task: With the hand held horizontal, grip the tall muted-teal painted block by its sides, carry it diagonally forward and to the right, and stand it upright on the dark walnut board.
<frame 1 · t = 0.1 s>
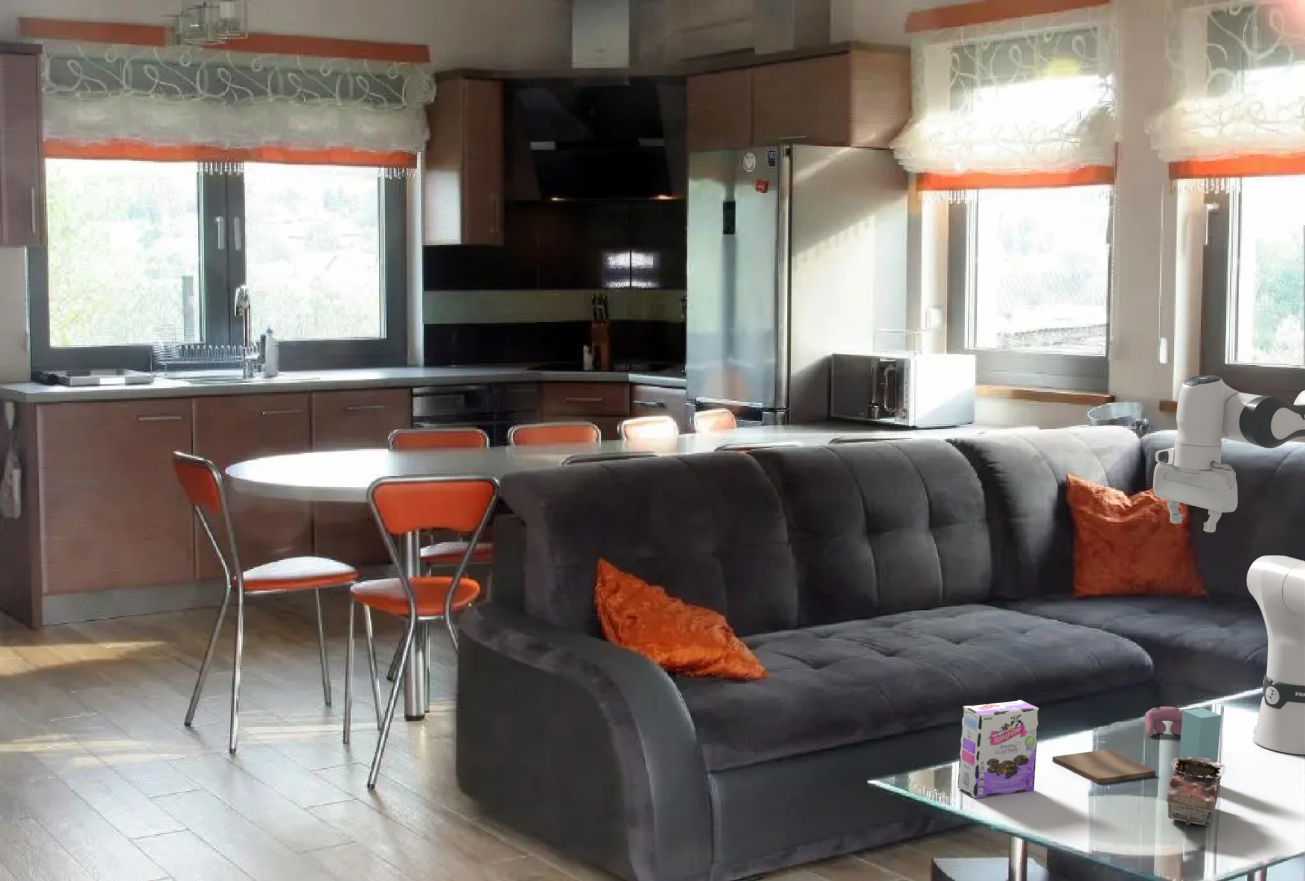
hand: (1192, 527, 332), 48 cm above the table, tool pointing down, fingers open, 8 cm apart
walnut board: (1103, 768, 332), on the table
video game controller: (1167, 736, 355), on the table
candy box: (995, 791, 318), on the table
decorative box: (1199, 823, 304), on the table
teal block: (1196, 782, 325), on the table
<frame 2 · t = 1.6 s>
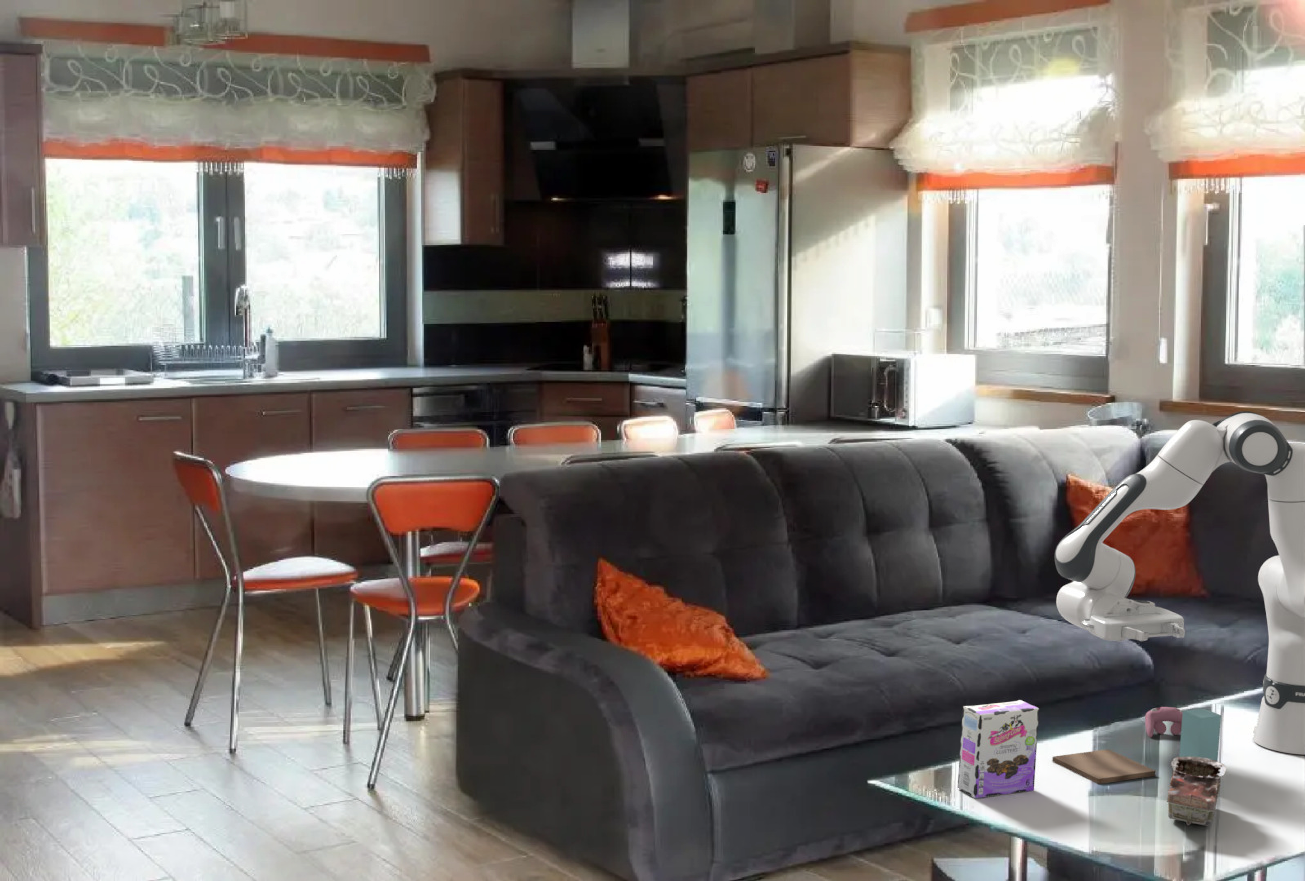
hand: (1163, 635, 333), 26 cm above the table, tool horizontal, fingers open, 8 cm apart
nothing on the table moved.
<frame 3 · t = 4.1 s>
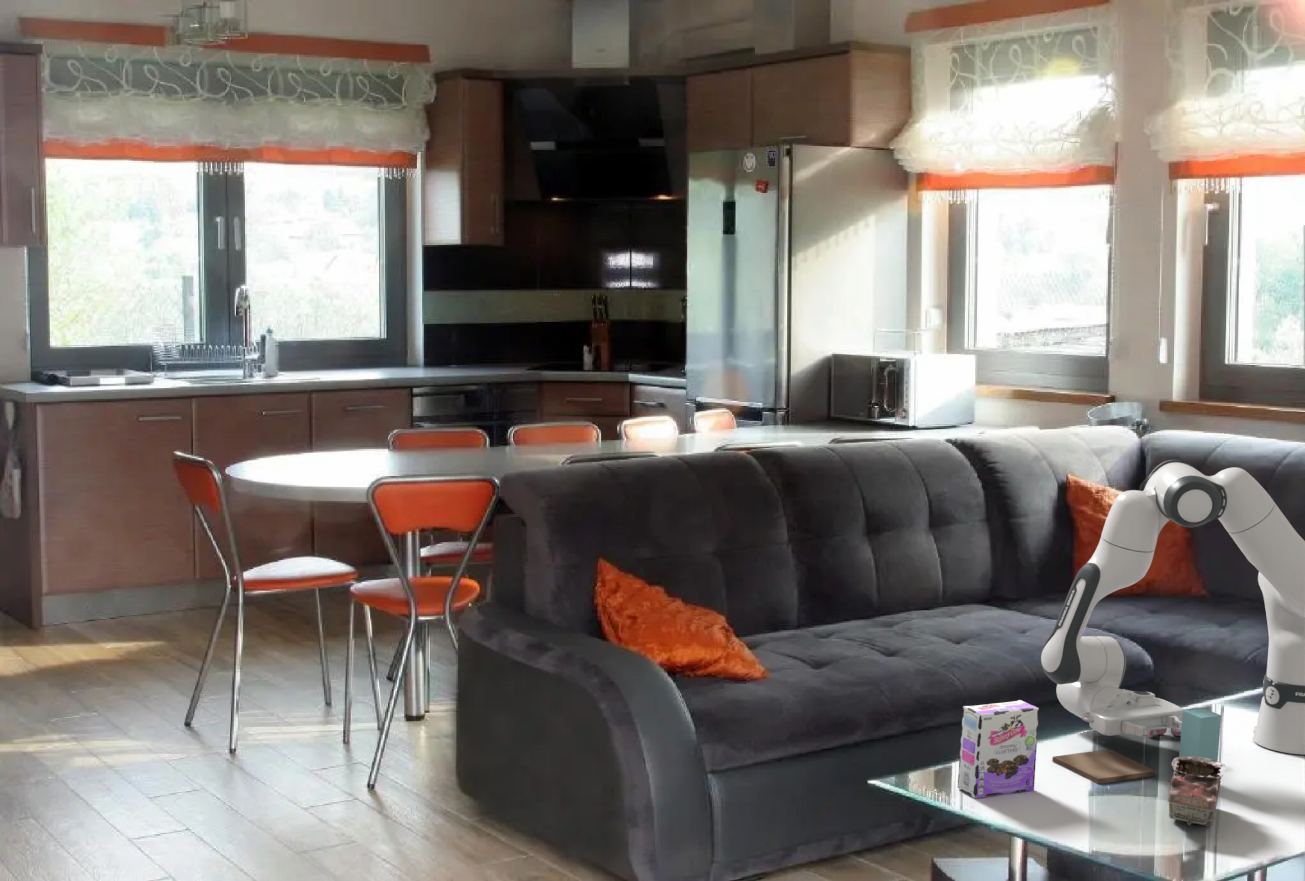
hand: (1163, 730, 334), 7 cm above the table, tool horizontal, fingers open, 8 cm apart
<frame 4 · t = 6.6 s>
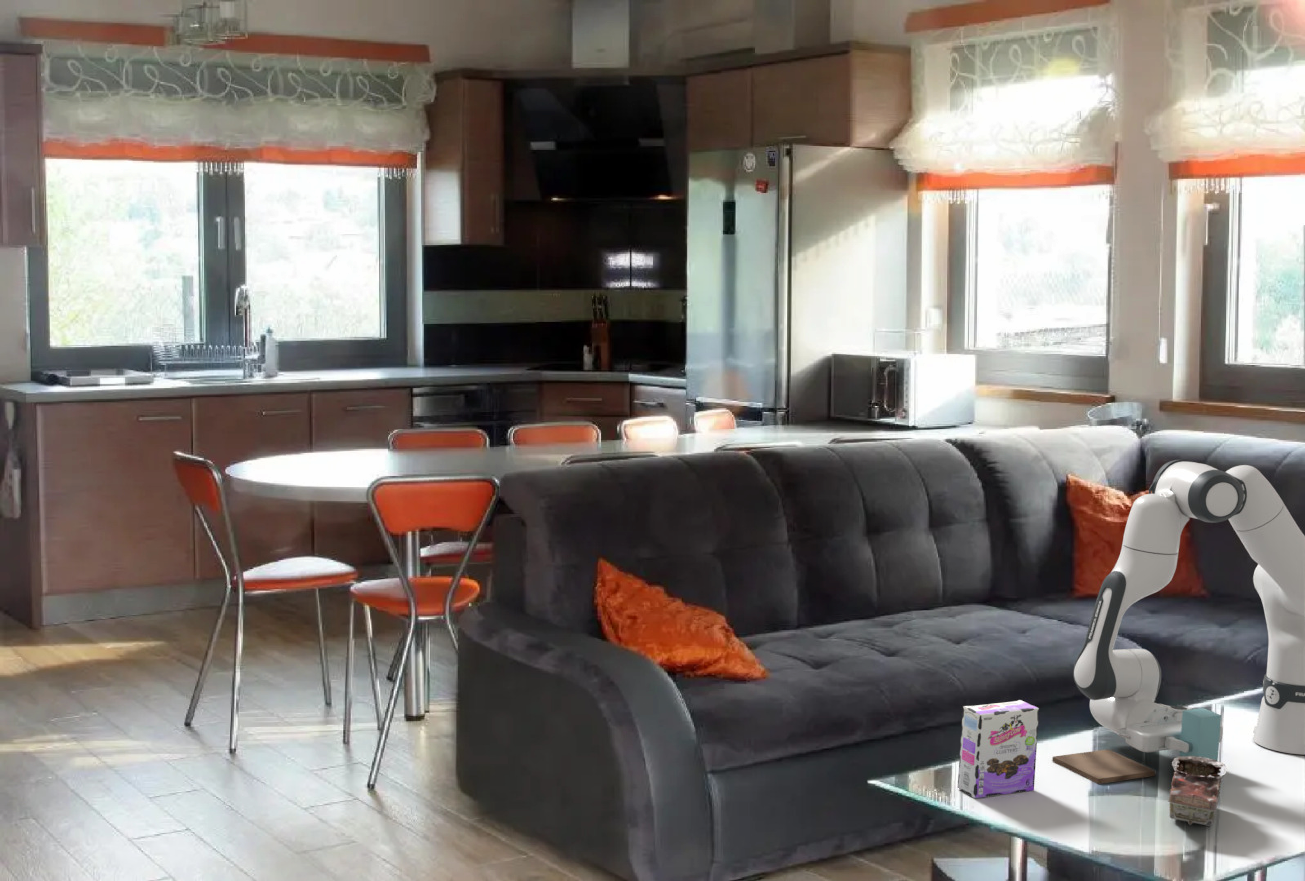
hand: (1202, 746, 324), 8 cm above the table, tool horizontal, fingers closed on teal block, 5 cm apart
teal block: (1196, 782, 325), on the table, touching gripper
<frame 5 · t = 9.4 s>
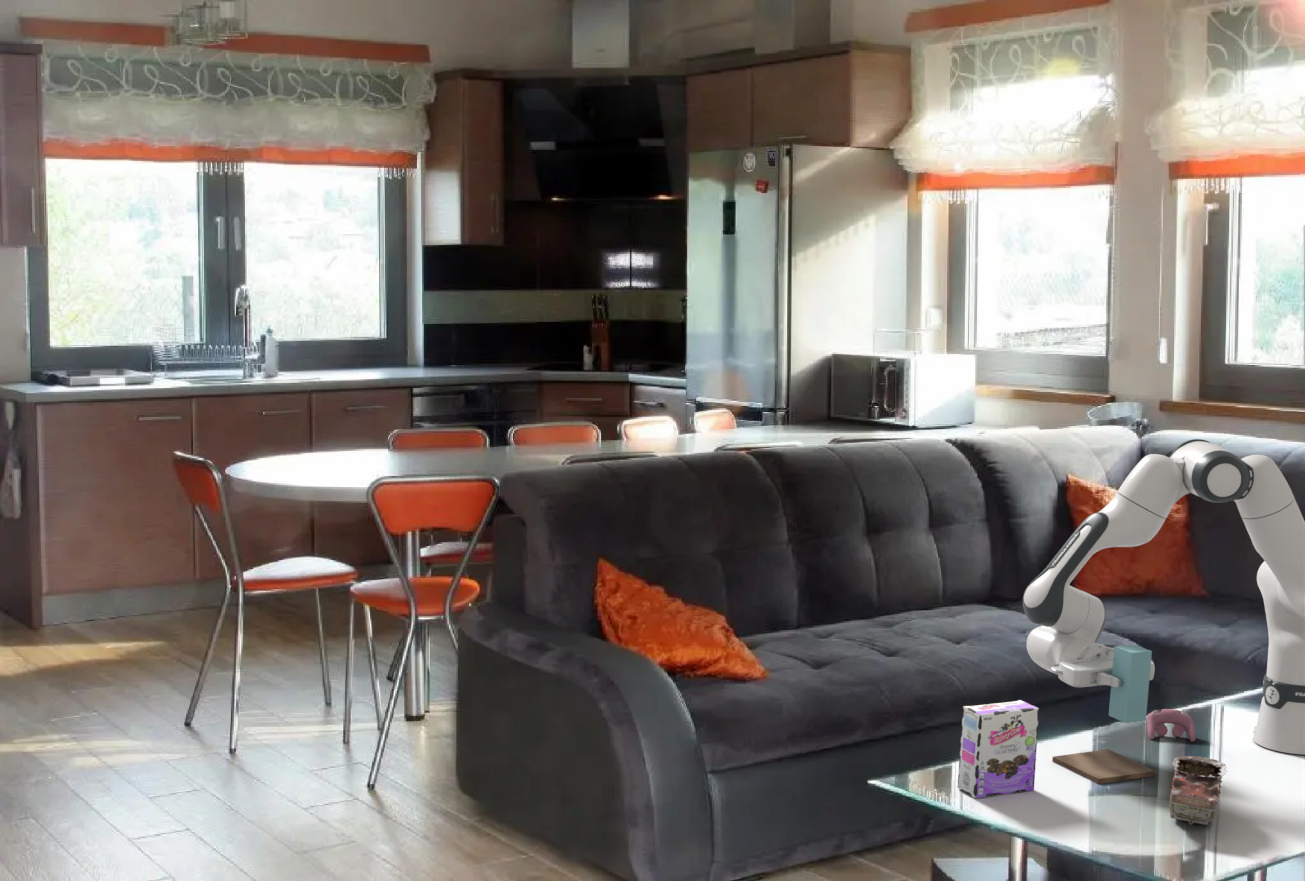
hand: (1133, 682, 327), 19 cm above the table, tool horizontal, fingers closed on teal block, 5 cm apart
teal block: (1127, 718, 329), point 11 cm above the table, touching gripper
when the fingers open (10 cm above the table, at t = 12.2 s): teal block drops 1 cm, resting on walnut board.
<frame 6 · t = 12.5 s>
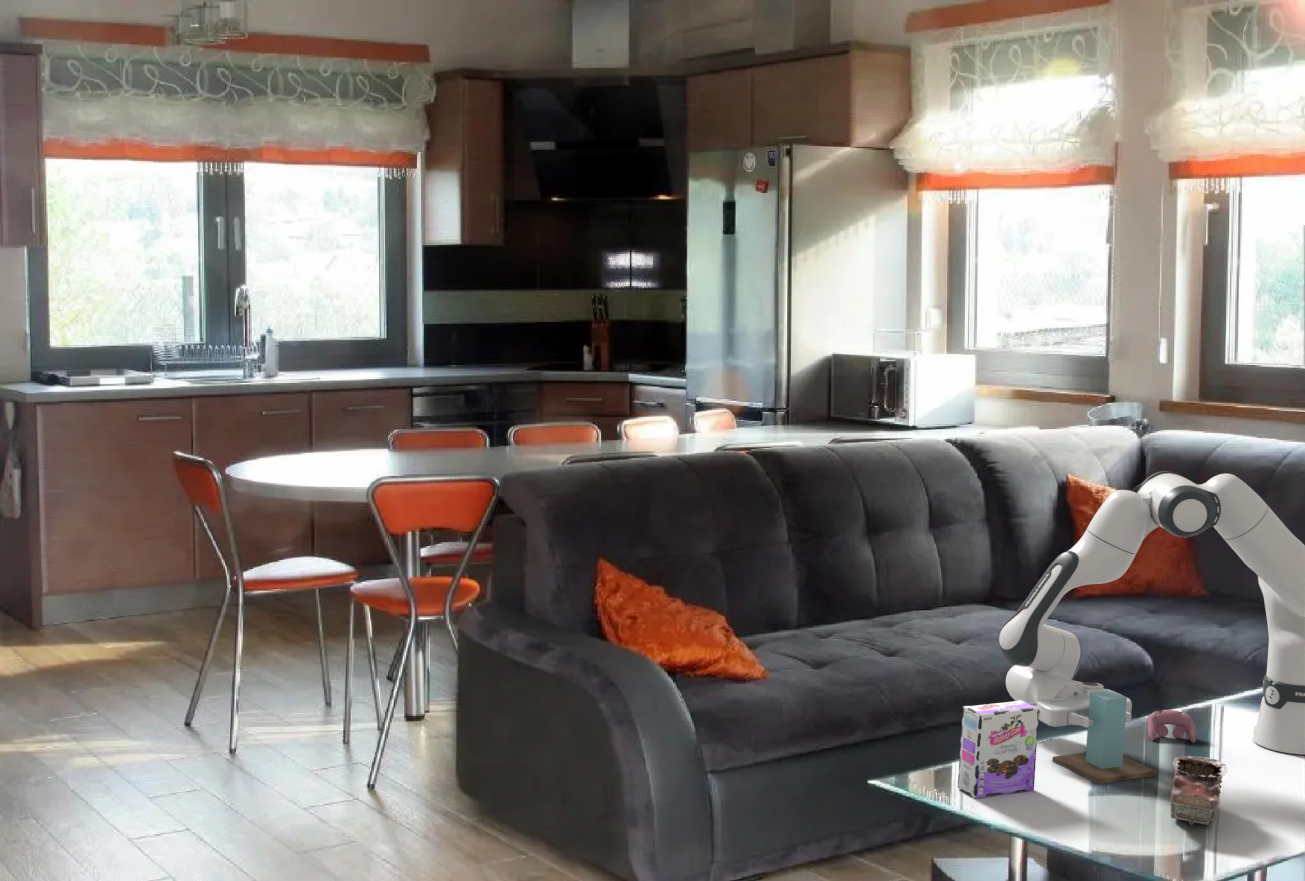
hand: (1109, 721, 330), 10 cm above the table, tool horizontal, fingers open, 8 cm apart
teal block: (1103, 763, 332), point 1 cm above the table, touching walnut board
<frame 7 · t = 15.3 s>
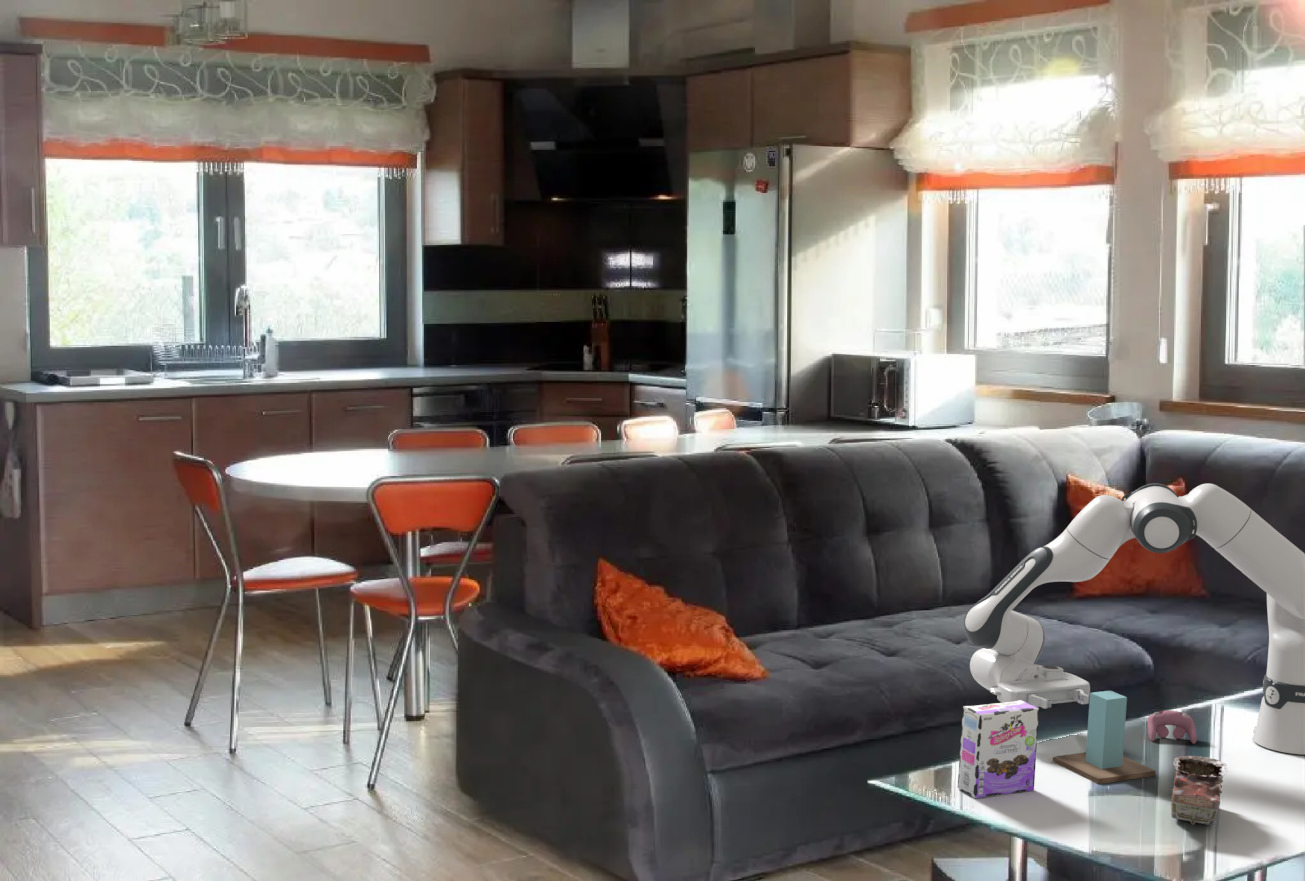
hand: (1067, 702, 341), 10 cm above the table, tool horizontal, fingers open, 8 cm apart
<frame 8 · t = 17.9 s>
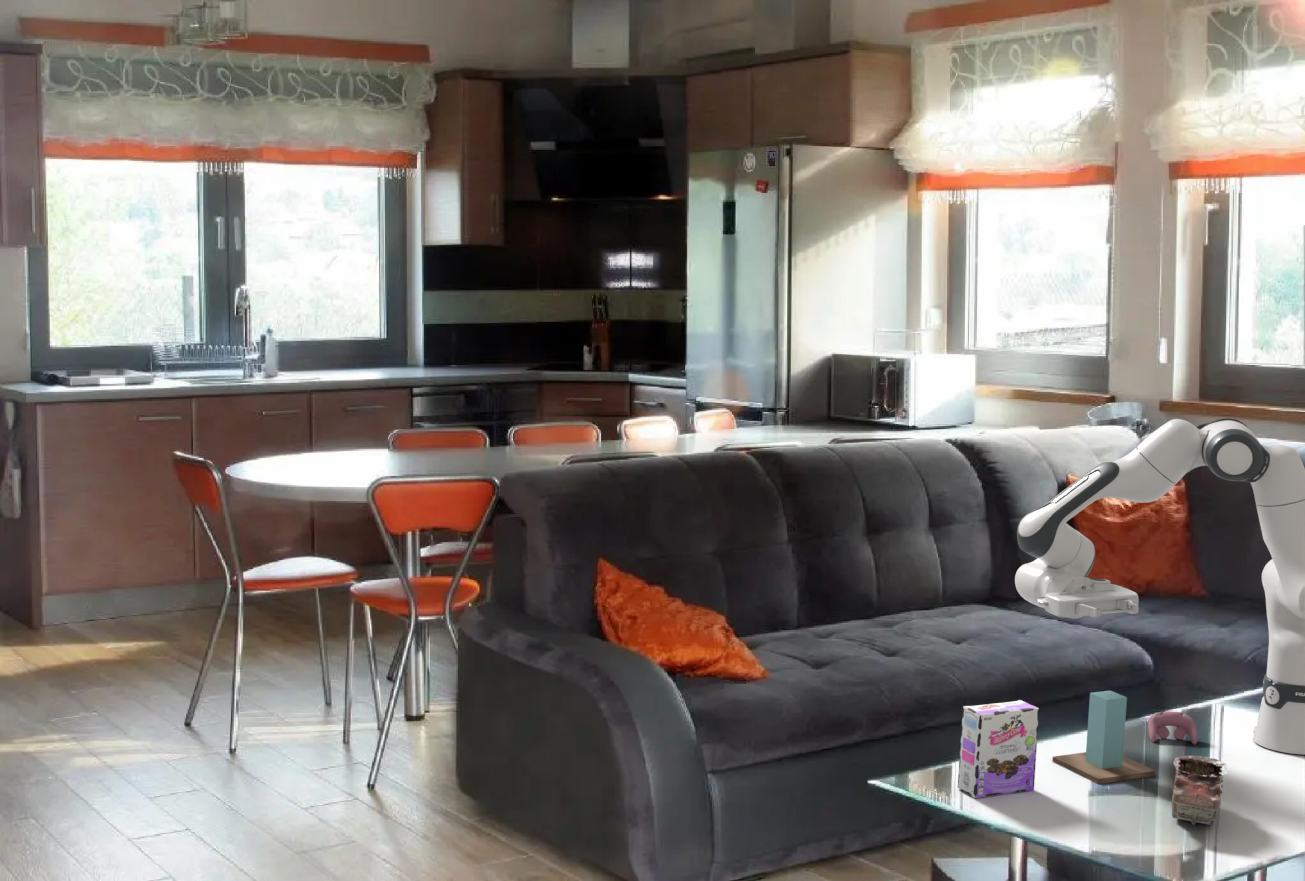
hand: (1117, 611, 336), 30 cm above the table, tool horizontal, fingers open, 8 cm apart
at the end: teal block inside the target area on the walnut board (0.0 cm from its centre), point 1.0 cm above the walnut board's base; teal block tilted 0°; the gripper is holding nothing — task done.
